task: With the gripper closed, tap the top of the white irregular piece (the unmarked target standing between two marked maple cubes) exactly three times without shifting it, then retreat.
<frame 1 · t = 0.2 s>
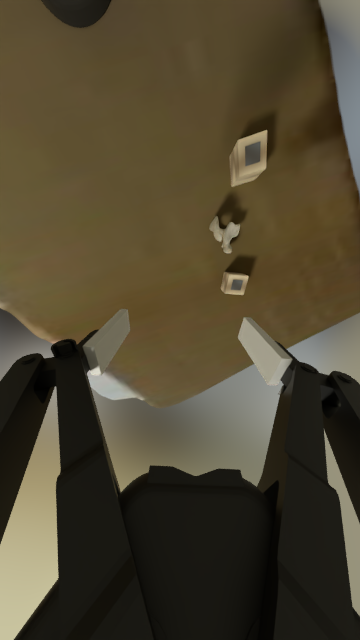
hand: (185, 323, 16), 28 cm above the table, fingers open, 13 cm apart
marked cube 1: (230, 281, 41), on the table
marked cube 2: (242, 168, 30), on the table
white irregular piece: (223, 234, 36), on the table
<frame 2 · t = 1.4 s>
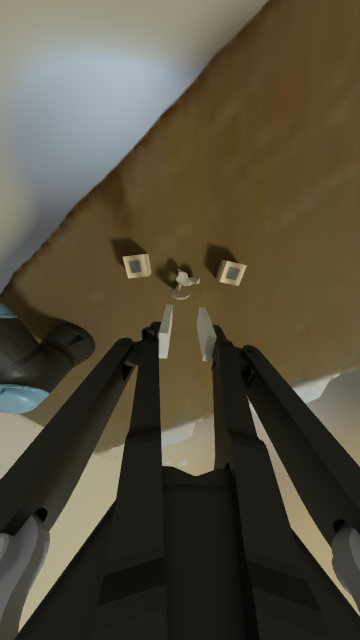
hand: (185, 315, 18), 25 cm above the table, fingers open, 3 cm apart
marked cube 1: (227, 271, 39), on the table
marked cube 2: (140, 264, 38), on the table
white irregular piece: (183, 278, 40), on the table
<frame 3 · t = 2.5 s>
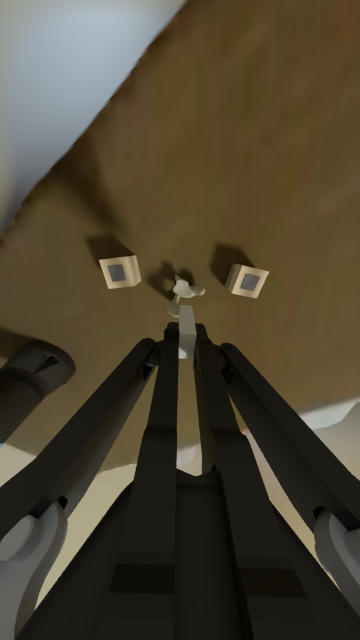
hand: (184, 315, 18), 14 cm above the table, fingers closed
marked cube 1: (239, 277, 30), on the table
marked cube 2: (127, 269, 29), on the table
white irregular piece: (182, 287, 31), on the table
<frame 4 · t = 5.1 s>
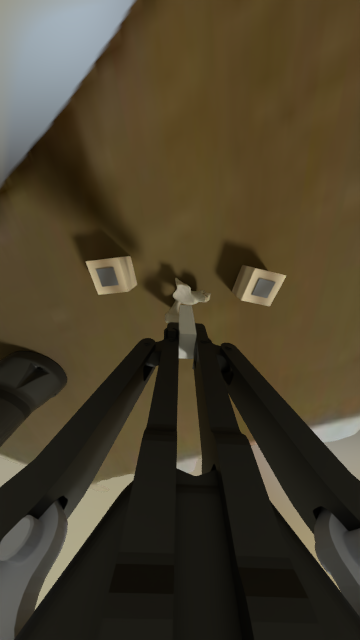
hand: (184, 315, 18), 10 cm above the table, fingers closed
marked cube 1: (249, 281, 26), on the table
marked cube 2: (120, 272, 26), on the table
white irregular piece: (184, 292, 27), on the table
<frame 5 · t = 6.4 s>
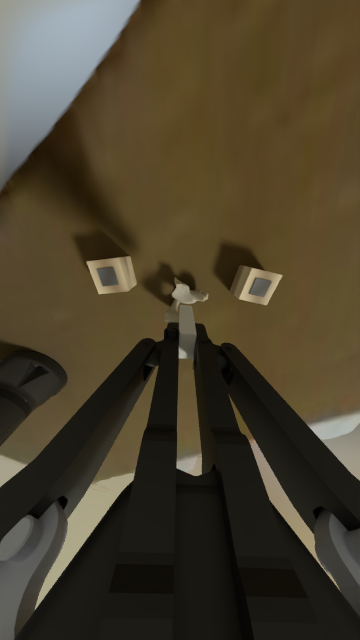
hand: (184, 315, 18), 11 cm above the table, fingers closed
marked cube 1: (246, 281, 27), on the table
marked cube 2: (120, 272, 26), on the table
white irregular piece: (182, 291, 28), on the table
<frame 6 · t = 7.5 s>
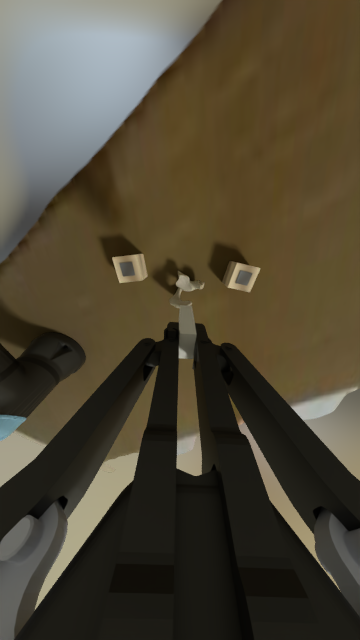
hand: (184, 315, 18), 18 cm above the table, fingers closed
marked cube 1: (235, 274, 33), on the table
marked cube 2: (135, 266, 33), on the table
white irregular piece: (184, 282, 34), on the table
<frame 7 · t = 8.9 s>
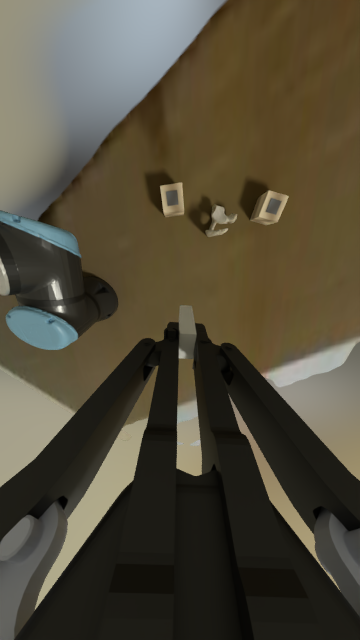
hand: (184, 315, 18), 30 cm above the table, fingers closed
marked cube 1: (262, 211, 37), on the table
marked cube 2: (173, 204, 37), on the table
white irregular piece: (215, 221, 38), on the table
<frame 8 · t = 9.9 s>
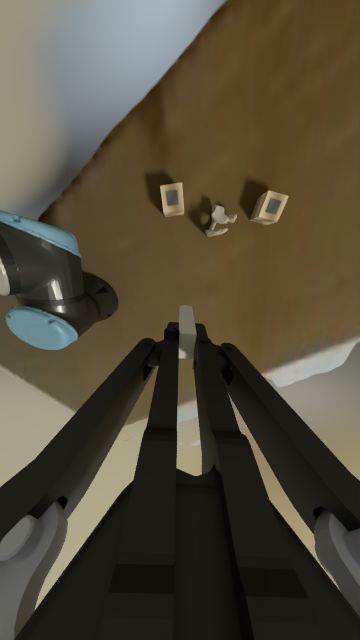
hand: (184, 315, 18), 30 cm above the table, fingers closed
marked cube 1: (262, 211, 37), on the table
marked cube 2: (173, 204, 37), on the table
white irregular piece: (215, 221, 38), on the table
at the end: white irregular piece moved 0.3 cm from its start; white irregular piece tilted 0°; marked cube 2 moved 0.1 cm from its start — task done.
